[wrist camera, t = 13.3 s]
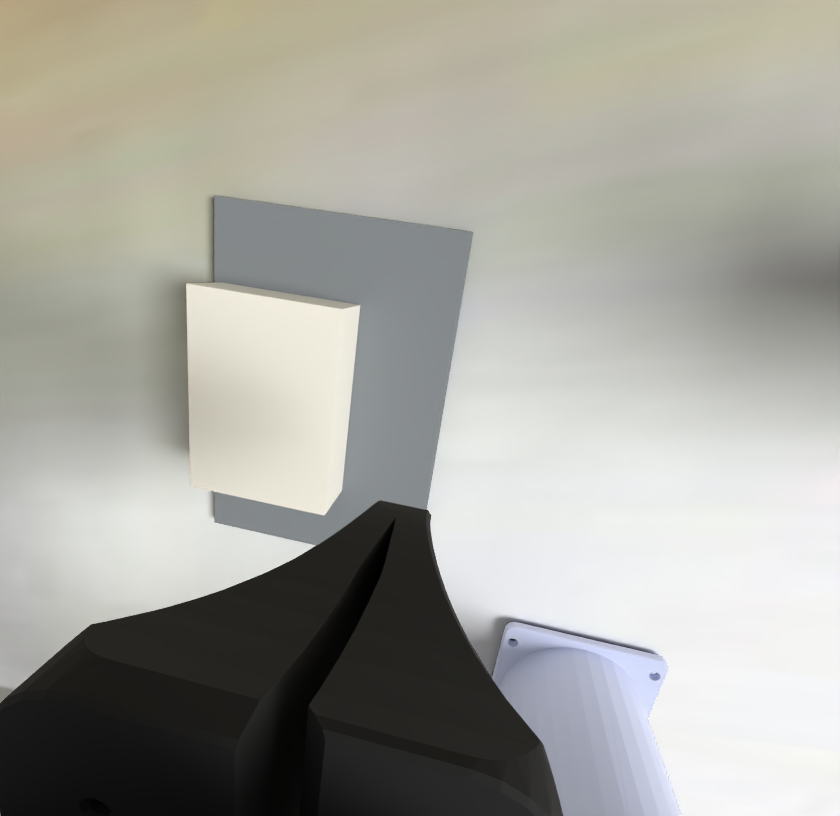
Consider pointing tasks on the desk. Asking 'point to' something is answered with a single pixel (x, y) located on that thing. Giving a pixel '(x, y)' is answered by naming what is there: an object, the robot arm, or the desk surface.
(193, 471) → the block
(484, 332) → the desk surface
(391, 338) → the mat
